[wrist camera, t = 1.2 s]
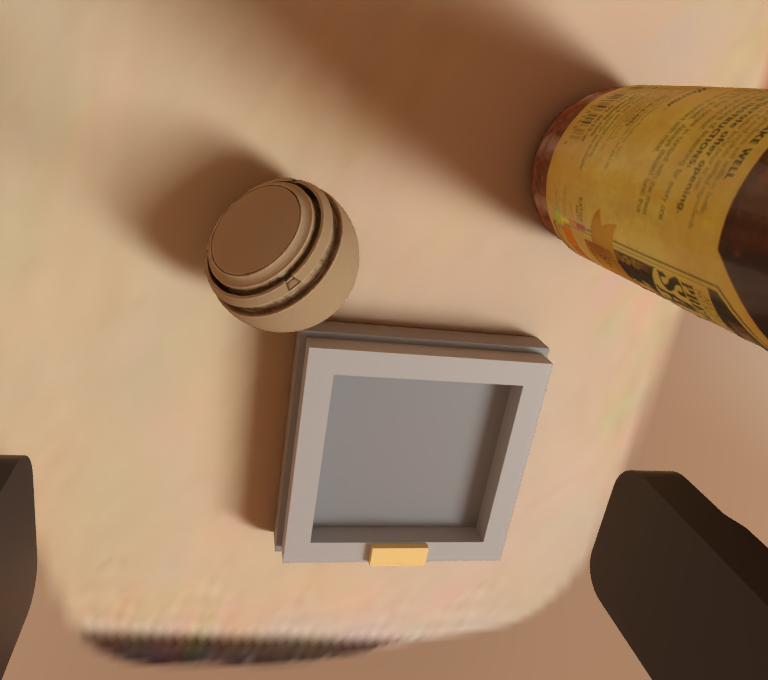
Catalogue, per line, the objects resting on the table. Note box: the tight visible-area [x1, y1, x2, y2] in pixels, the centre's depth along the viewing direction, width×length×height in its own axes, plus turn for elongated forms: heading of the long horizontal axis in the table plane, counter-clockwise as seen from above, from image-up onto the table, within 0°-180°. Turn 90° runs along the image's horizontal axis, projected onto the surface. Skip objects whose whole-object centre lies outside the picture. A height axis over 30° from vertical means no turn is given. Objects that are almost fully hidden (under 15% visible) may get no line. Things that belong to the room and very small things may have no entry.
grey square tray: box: [274, 321, 553, 566], centre depth 26 cm, size 10×10×2 cm
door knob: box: [205, 178, 359, 332], centre depth 21 cm, size 5×5×5 cm
